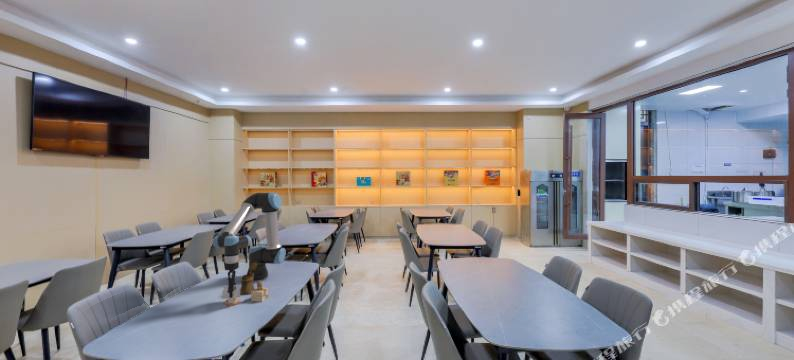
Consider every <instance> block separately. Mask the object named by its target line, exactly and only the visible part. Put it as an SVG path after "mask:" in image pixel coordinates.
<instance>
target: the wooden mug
mask: <svg viewBox="0 0 794 360" xmlns="http://www.w3.org/2000/svg"><path fill="white" fill-rule="evenodd" d="M257 267H258V263H257V262H253V263H252V264H251V265H250V267H249V266H248V269H249V271H250V273H249V274H247V273H246V274H243V275H242V277H241V280H240V281H241V284H240V285H241V293H240V296H241V295H242V296H245V295H246V296H248V295H251V291H253V290H254V289H256V288H255V285H254V280H253V278H254V273H253V272H254V271H255V270H256V269H257Z"/></svg>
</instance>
